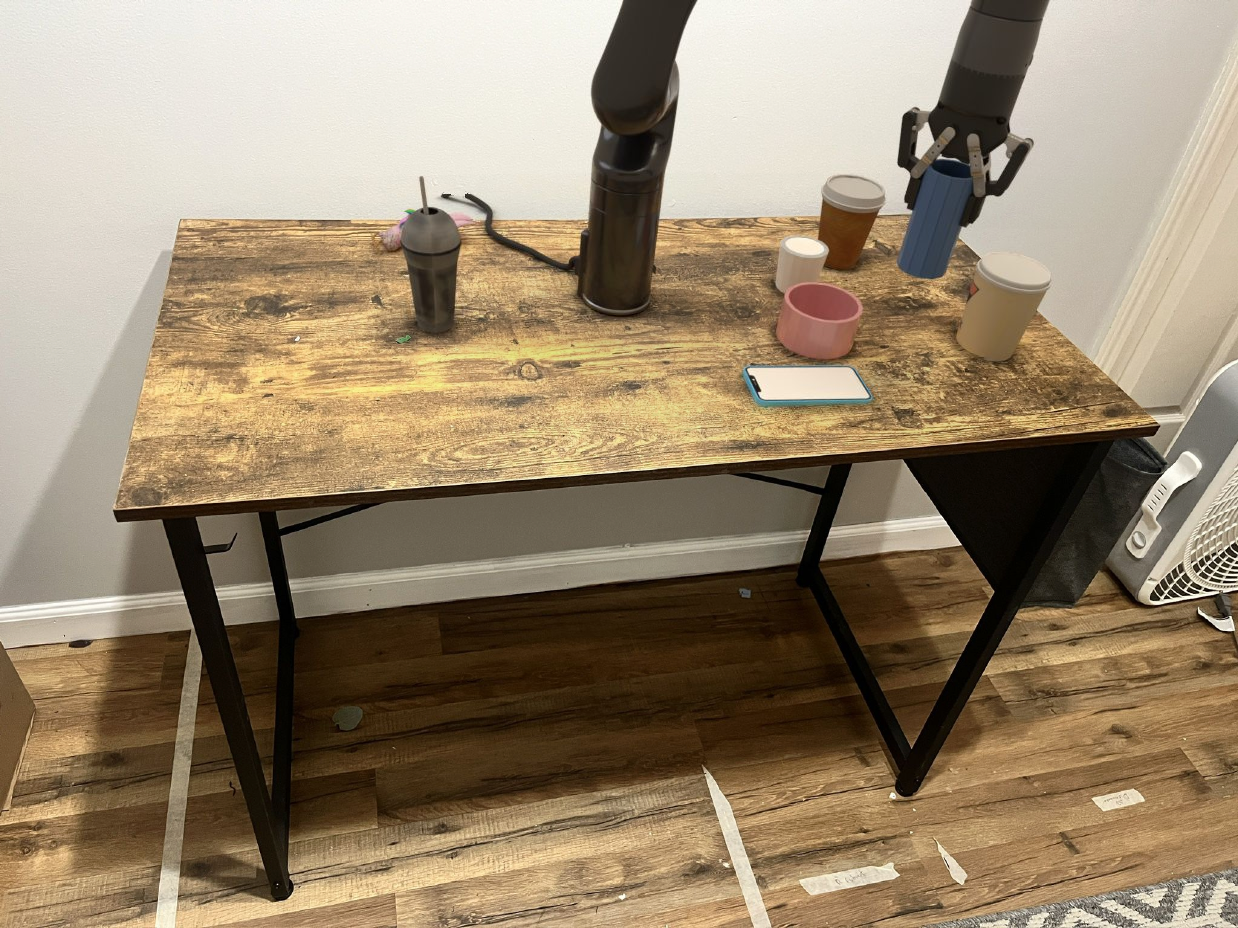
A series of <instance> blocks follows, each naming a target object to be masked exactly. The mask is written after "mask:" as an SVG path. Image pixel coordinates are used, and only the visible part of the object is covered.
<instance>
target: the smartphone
mask: <svg viewBox="0 0 1238 928" xmlns="http://www.w3.org/2000/svg"><path fill="white" fill-rule="evenodd" d="M742 377H743V379H744V381H745V383H746V385H747V387H748V390H749V392H750V394H751V396H752V399H753V401H754V402H755V404H756V405H757V406H760V407H763V408H775V407H777V408H779V407H796V406H797V407H798V406H801V407H803V406H804V407H805V406H831V405H833V406H834V405H852V404H853V405H857V404H870V403H871V402H872V401H873V399H874V396H873V394H872V393H871V391H870V390H869V388H868V386H867V385H866V383H865V382H864V381H863V378H862V377H861V376H860V373H859V372H858V371H857V369H856V368H855V367H853V366H851V365H845V364H840V365H839V364H837V365H835V364H834V365H827V364H826V365H823V364H822V365H816V364H815V365H814V364H813V365H811V364H810V365H747V366H745V367H744V368H743V371H742Z"/></svg>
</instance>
